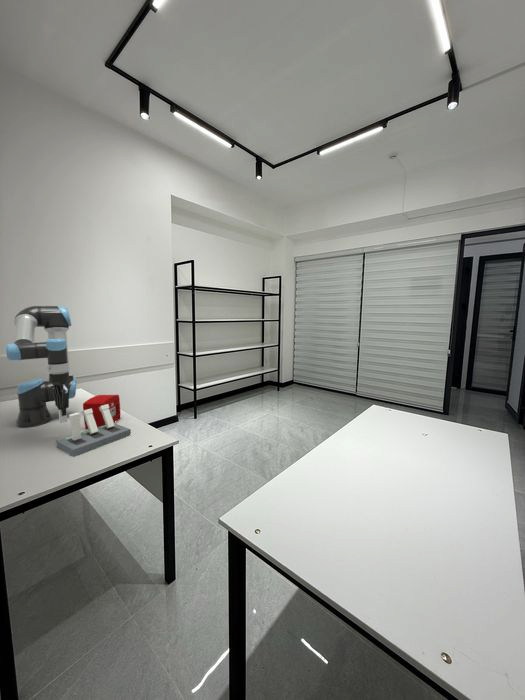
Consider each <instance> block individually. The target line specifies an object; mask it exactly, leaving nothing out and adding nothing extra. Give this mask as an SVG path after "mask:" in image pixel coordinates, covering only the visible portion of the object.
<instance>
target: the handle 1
mask: <svg viewBox="0 0 525 700" xmlns="http://www.w3.org/2000/svg"><path fill="white" fill-rule="evenodd" d="M92 413H93V411H92V408H91V409H87V410H84V411H83V410H82V411H81V415H82V416H83V418H84V417H85V420H86V423H87V426H88V429H87V430H89V432H90V434H93V433H96V432H98V428H97V425H96V422H95V420H94V417H93V414H92Z"/></svg>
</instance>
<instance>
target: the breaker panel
mask: <svg viewBox="0 0 525 700" xmlns="http://www.w3.org/2000/svg"><path fill="white" fill-rule="evenodd" d="M114 425H115V426H114V427H111V428H108V429H107V426H106V425H103V426H100V427H97V428H98V432H96V433H93V434H90V432H89V429H87V430H85V431H83V432H82V431H81V438H80V439H77V440H72V435H69V436H67V437H64V438H61V439H60V438H59V439H57V440H56V442H55V444H56V448H58V449H60V450H61V449H62V451H64V452H65V453H67V454H68V453H69V455H70V456H72V457H77V456H80V455H82V454H84V452H85V453H87V452H90V451H93V450H96V449H98V448H100V446H101V447H103V446H105V445H108V444H111V443H114V442H117V441H120V440H121V438H122V439H124V438H127V437H129V436H128V435H130V434H131V435H132V432H131V428H129V427H126V426H123V425H120V424H118V423H116V422H114ZM131 435H130V436H131ZM126 436H127V437H126ZM123 437H124V438H123ZM113 441H114V442H113ZM76 455H77V456H76Z"/></svg>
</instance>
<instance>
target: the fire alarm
mask: <svg viewBox="0 0 525 700" xmlns="http://www.w3.org/2000/svg"><path fill="white" fill-rule="evenodd" d="M106 404H108V405H109V411H110V414H111V416H112V419H113V422H114V423H116V422H117V421H119V420H120V419H121V401H120V395H119V394H99V395H94V396H92V397H91V398H89V399H87V400H86V401H85V402H83V403H82V411H84V410H87V409H91V408H92V411H93V413H92V414H93V417H94V420H95V422H96V425H97V427H100V426H103V425H106V424H105V421H104V418H103V415H102V412H101V411H100V409H99V407H100V406H102V405H106ZM119 418H120V419H119ZM118 419H119V420H118ZM83 420H84V426H85V427H84V428H85V430H89V429H88V426H87V423H86V420H85V417H84V416H83ZM116 420H117V421H116ZM115 421H116V422H115Z"/></svg>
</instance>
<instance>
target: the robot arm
mask: <svg viewBox="0 0 525 700" xmlns="http://www.w3.org/2000/svg"><path fill="white" fill-rule="evenodd" d="M13 323H14V326H15V331H14V338H13V343H8V344H6V346H5V353H6V357H7V359H8V360H9V361H23V360H37V359H47V365H48V366H47V369H48V373H49V374H48V380H46V381H45V379H43V378H35V379H32V380H31V379H30V380H27V381H24V382H20V383H19V384H18V385H17V393H16V394H17V396H18V407H19V408H18V409H19V412H18V415H17V419H16V427H18V426H21V427H20V428H30V427H31V428H32V427H38V426H41V425H44V424H47V423H49V422H50V421H52V414H51V412H50V410H49V409H48V405H47V403H50V402H54V404H55V407H57V409H58V420H59V421H58V422H59V423H60V424H63V423H67V422H68V413H67V409H68V408H69V407H70V406H69V405H70V399H74V398H75V397H76V393H77V377H74V375H73V374H72V373H71V372H70V363H69V362H70V361H69V360H70V359H69V349H68V339H67V332H68V330H69V329H70V328H69V327H71V326H72V320H71V315H70V313H69V309H68V307H66V306H62V305H60V306H59V305H33V306H32V305H31V306H29V307H25V308H23V309H22V310H20V311H19V312H18V313H17V314H16V315H15V317H14V320H13ZM37 327H41V328H44V331H45V332H47V336H48V337H47V338H48V339H47V340H46V341H44V342H35V334H36V333H35V331H36V328H37Z"/></svg>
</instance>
